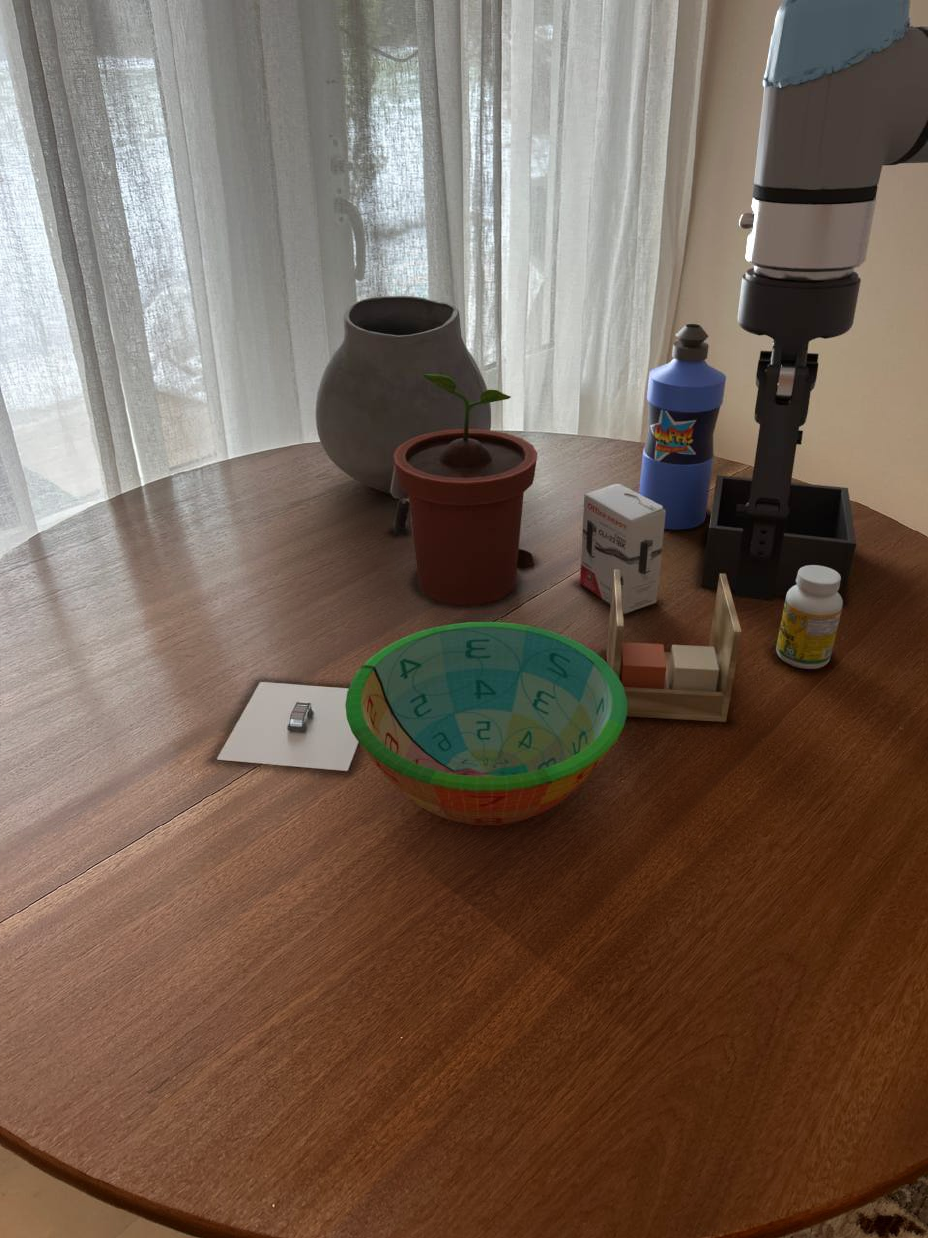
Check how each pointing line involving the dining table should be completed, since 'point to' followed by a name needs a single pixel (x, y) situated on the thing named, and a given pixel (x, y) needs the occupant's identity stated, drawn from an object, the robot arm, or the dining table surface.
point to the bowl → (486, 718)
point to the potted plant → (464, 506)
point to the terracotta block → (642, 665)
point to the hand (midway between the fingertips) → (759, 556)
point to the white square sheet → (293, 728)
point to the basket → (809, 537)
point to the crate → (665, 700)
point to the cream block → (693, 668)
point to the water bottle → (682, 431)
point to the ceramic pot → (394, 384)
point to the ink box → (622, 545)
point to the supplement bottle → (810, 618)
